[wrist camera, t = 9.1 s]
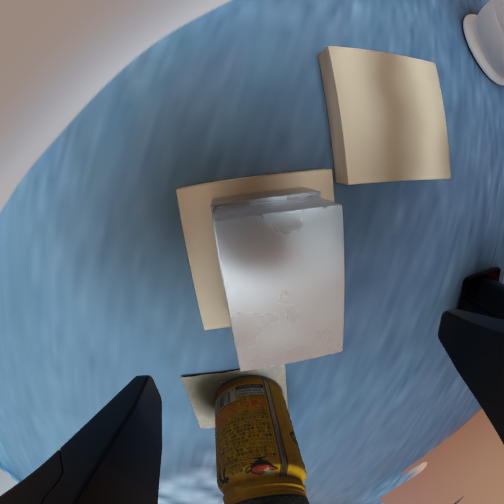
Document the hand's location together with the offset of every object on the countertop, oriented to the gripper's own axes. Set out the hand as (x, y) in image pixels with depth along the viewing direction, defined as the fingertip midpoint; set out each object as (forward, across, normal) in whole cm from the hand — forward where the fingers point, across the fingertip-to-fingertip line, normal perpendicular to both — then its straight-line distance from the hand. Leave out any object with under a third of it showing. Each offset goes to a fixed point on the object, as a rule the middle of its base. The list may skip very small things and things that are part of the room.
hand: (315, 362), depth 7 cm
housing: (+10, 0, 0) cm, 10 cm away
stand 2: (+12, -10, -8) cm, 18 cm away
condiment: (+12, +3, +14) cm, 19 cm away
